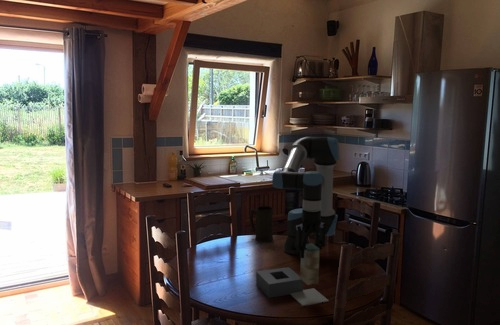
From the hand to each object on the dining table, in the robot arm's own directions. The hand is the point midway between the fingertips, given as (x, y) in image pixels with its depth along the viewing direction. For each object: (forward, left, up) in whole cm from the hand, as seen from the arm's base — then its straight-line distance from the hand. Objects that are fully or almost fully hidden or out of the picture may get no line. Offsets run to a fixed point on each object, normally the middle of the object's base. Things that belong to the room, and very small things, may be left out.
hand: (309, 264), depth 169 cm
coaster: (0, 0, -15) cm, 15 cm away
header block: (+8, -12, -15) cm, 20 cm away
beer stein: (-10, -77, -15) cm, 79 cm away
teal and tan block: (0, 0, -7) cm, 7 cm away
